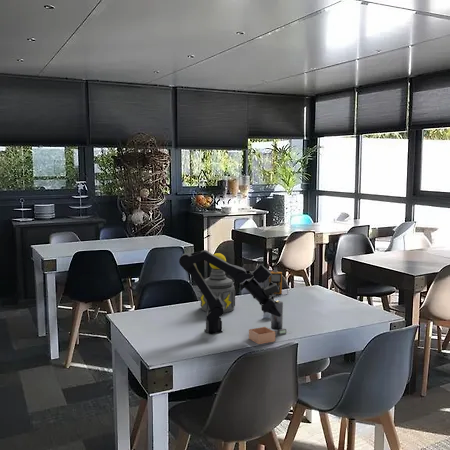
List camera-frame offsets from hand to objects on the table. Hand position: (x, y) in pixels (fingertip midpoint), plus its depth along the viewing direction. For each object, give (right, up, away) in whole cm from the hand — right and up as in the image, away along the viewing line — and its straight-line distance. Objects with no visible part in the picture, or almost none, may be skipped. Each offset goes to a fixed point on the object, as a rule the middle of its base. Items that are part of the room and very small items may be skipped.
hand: (279, 314), depth 222 cm
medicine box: (-2, -6, +25) cm, 26 cm away
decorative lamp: (-29, -5, +41) cm, 50 cm away
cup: (-9, -9, -11) cm, 17 cm away
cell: (-1, -6, +1) cm, 7 cm away
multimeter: (+5, -2, +71) cm, 71 cm away
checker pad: (-1, -8, +1) cm, 8 cm away
